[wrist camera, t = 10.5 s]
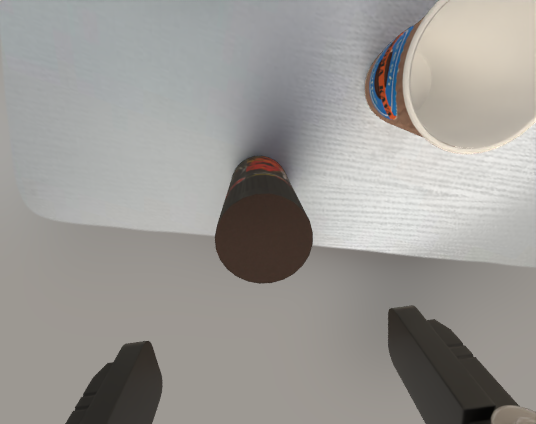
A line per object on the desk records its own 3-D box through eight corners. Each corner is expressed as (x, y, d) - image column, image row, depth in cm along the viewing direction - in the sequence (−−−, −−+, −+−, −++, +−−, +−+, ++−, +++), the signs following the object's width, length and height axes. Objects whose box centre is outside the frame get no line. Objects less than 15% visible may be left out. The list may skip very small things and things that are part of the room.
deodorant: (221, 190, 32) (195, 252, 18) (252, 144, 31) (251, 173, 17) (265, 219, 34) (274, 299, 20) (297, 177, 32) (332, 229, 18)
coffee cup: (356, 20, 28) (427, -42, 16) (462, 31, 29) (600, -21, 17) (339, 134, 31) (388, 148, 20) (434, 142, 32) (535, 159, 20)
